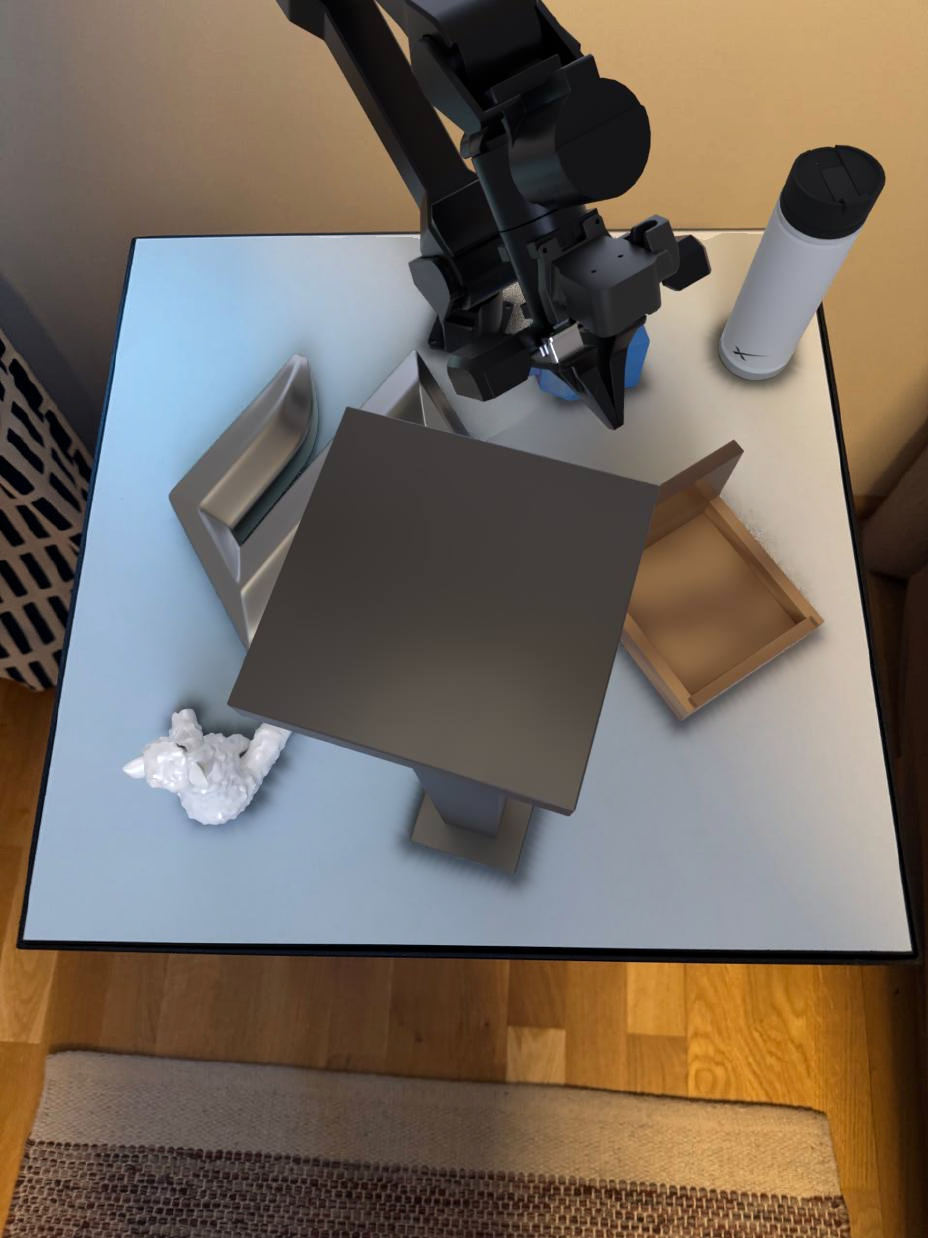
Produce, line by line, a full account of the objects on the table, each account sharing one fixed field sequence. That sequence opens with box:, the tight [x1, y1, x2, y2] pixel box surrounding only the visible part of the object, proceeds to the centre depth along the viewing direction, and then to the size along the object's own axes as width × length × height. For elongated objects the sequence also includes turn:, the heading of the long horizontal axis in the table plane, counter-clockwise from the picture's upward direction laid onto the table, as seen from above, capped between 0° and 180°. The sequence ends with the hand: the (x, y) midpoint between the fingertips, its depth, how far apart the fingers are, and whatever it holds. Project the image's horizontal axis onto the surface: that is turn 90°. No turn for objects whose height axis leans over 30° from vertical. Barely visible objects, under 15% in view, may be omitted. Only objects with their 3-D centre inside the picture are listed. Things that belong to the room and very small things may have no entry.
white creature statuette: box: [122, 708, 293, 826], centre depth 59 cm, size 10×9×12 cm
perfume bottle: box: [528, 319, 651, 402], centre depth 72 cm, size 6×6×12 cm
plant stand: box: [226, 405, 660, 876], centre depth 41 cm, size 8×8×46 cm
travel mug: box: [718, 144, 887, 381], centre depth 65 cm, size 6×7×20 cm
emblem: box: [168, 349, 472, 653], centre depth 68 cm, size 28×5×28 cm
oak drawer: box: [619, 439, 825, 722], centre depth 63 cm, size 14×13×10 cm
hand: (616, 427), depth 62 cm, fingers closed
